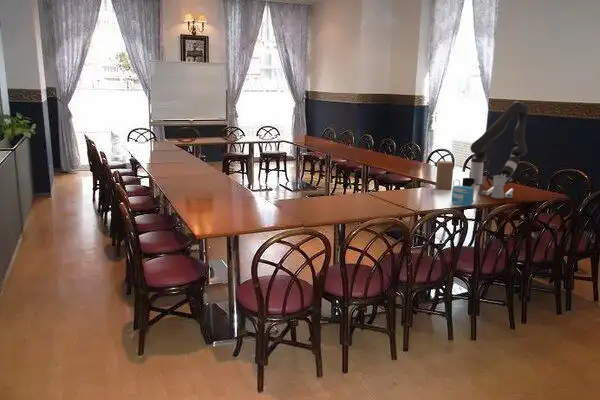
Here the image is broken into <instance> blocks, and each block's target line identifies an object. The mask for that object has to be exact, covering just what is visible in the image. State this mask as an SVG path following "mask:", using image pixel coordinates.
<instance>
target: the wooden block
mask: <svg viewBox="0 0 600 400" xmlns="http://www.w3.org/2000/svg"><path fill="white" fill-rule="evenodd" d="M453 174H454V162H453V161H450V160H449V161H447V160H445V161H444V160H441V161H440V160H438V161H437V164H436V176H435V177H436V179H435V188H436V190H439V191H440V190H441V191H442V190H443V191H446V190H447V191H452V189H453V186H452V185H453Z"/></svg>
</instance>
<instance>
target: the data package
mask: <svg viewBox="0 0 600 400" xmlns="http://www.w3.org/2000/svg"><path fill="white" fill-rule="evenodd" d="M472 198H473V199H474V197H473V188H472V187H466V186H462V185H460V184H459V185H454V186H452V189H451V201H450V202H451V204H452V205H454V204H456V205H455V206H460V205H462V206H461V207H470V206H472V205H473V202H472Z"/></svg>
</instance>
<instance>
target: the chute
mask: <svg viewBox="0 0 600 400" xmlns="http://www.w3.org/2000/svg"><path fill="white" fill-rule="evenodd" d="M493 188H494V186H492V187H490V188H489V189H488V190H484V189H483V190H482V191H481V196H483V195H484V196H489V195H490V194H492V191H493ZM513 193H514V188H510V189H509V190H508V191H506V192H505V193H504V198H510V199H512V198H513V196H514V195H513Z"/></svg>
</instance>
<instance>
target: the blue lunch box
mask: <svg viewBox="0 0 600 400" xmlns="http://www.w3.org/2000/svg"><path fill="white" fill-rule="evenodd" d="M455 181H458V182H459V184H461V181H460V180H459V179H455V180H453V181H452V185H453V186H452V187H454V186H455ZM475 185H476V184H475V179H473V178H469V177H463V178H462V184H461V186H466V187H472V188H473V198H472V203H474V196H475Z"/></svg>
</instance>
